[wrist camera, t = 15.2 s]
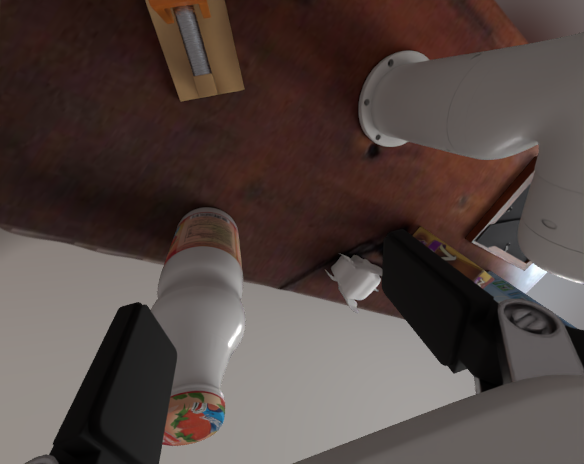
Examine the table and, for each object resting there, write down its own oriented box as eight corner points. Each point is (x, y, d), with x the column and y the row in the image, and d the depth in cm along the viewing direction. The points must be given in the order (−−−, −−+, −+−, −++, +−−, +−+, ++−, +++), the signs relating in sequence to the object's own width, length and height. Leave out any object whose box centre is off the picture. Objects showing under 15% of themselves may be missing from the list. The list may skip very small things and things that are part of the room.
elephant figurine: (342, 235, 47) (365, 262, 40) (380, 259, 53) (407, 287, 45) (312, 271, 50) (327, 303, 42) (351, 291, 55) (371, 322, 48)
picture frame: (465, 238, 56) (517, 266, 66) (472, 242, 54) (525, 271, 64) (535, 156, 49) (581, 202, 60) (546, 158, 48) (592, 205, 58)
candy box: (419, 224, 51) (486, 269, 38) (430, 233, 53) (497, 279, 40) (389, 257, 53) (442, 310, 40) (401, 264, 55) (456, 317, 42)
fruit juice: (247, 242, 43) (275, 425, 19) (196, 264, 43) (162, 476, 19) (222, 196, 38) (220, 365, 14) (164, 219, 38) (66, 432, 14)
